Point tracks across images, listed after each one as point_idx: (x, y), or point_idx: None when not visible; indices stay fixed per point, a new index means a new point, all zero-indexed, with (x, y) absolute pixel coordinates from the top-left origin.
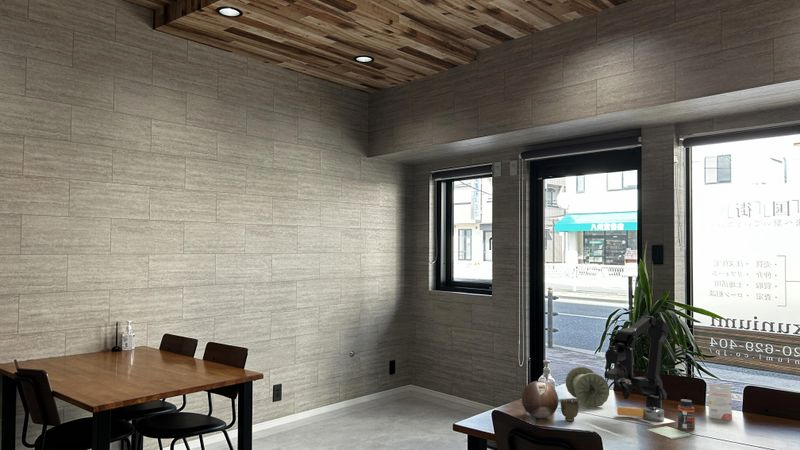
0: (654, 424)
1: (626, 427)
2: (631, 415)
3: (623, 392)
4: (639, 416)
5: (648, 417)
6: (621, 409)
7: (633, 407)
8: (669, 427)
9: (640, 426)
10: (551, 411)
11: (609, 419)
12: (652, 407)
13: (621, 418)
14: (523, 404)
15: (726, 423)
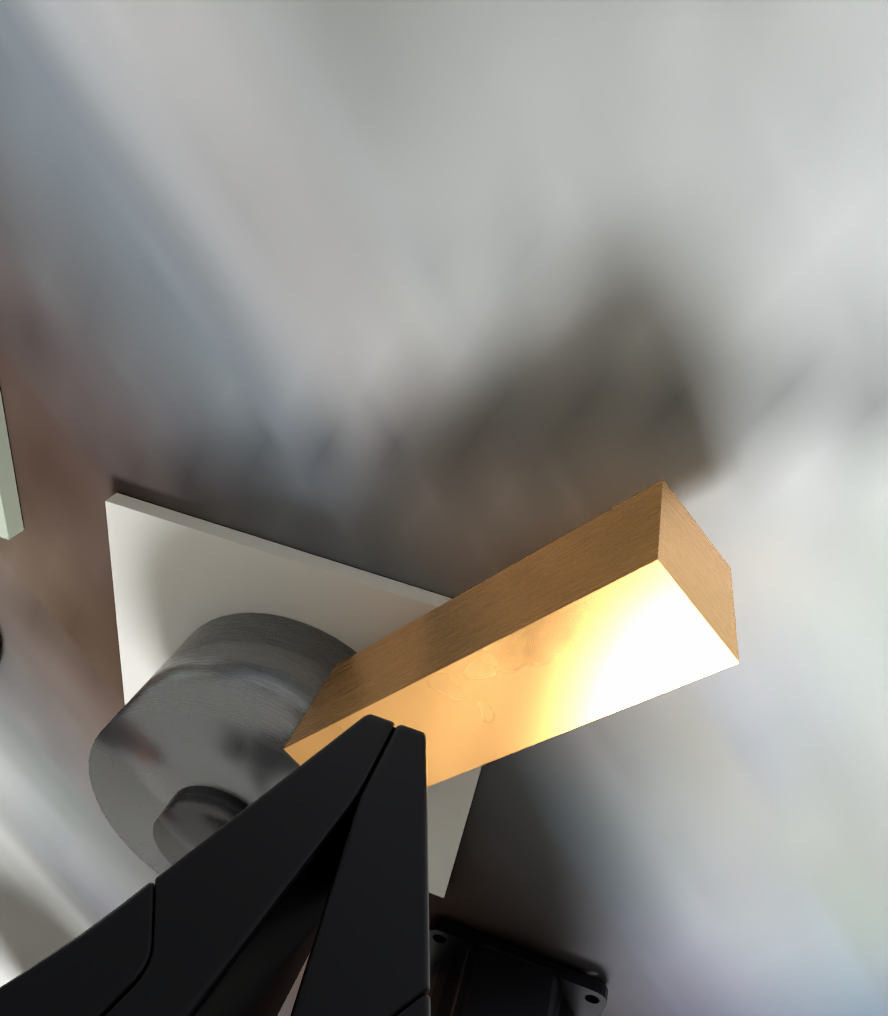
0: (119, 511)
1: (223, 7)
2: (464, 597)
3: (337, 899)
4: (375, 642)
5: (243, 644)
6: (591, 575)
7: (456, 768)
8: None
9: (176, 312)
10: None
11: (766, 253)
12: None
13: None
14: None
15: (12, 943)
